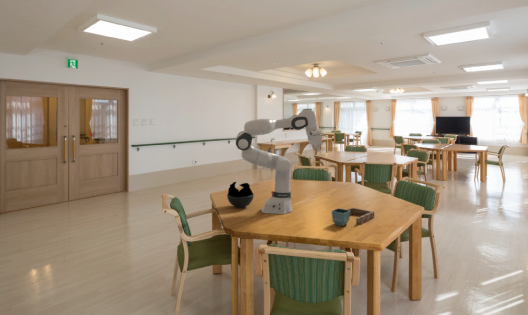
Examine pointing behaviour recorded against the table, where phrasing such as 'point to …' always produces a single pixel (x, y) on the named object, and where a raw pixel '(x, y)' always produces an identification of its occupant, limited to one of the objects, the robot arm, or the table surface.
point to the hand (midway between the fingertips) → (316, 150)
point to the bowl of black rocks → (240, 195)
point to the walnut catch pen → (361, 215)
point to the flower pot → (340, 216)
